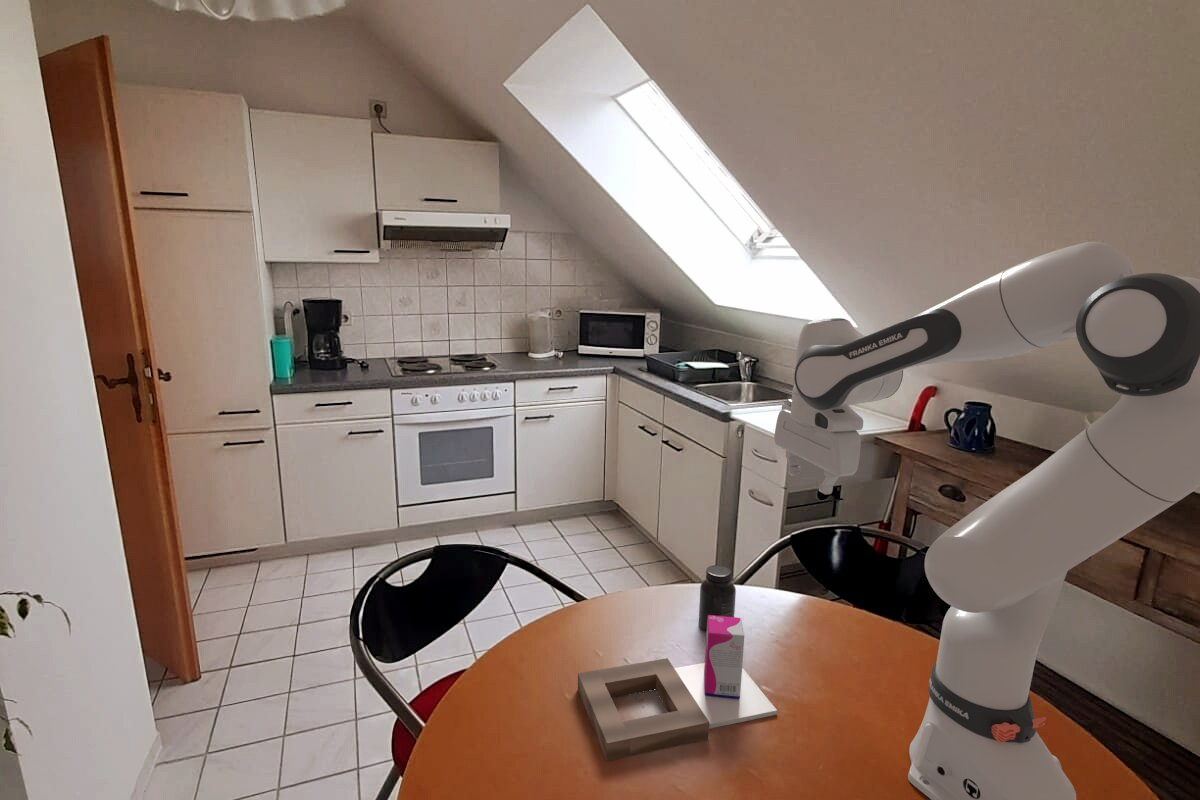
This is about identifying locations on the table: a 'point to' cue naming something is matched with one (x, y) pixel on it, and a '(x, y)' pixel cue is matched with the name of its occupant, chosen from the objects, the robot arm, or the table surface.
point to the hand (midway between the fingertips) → (809, 483)
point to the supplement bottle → (716, 594)
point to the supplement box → (723, 657)
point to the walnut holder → (646, 732)
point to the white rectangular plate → (726, 699)
